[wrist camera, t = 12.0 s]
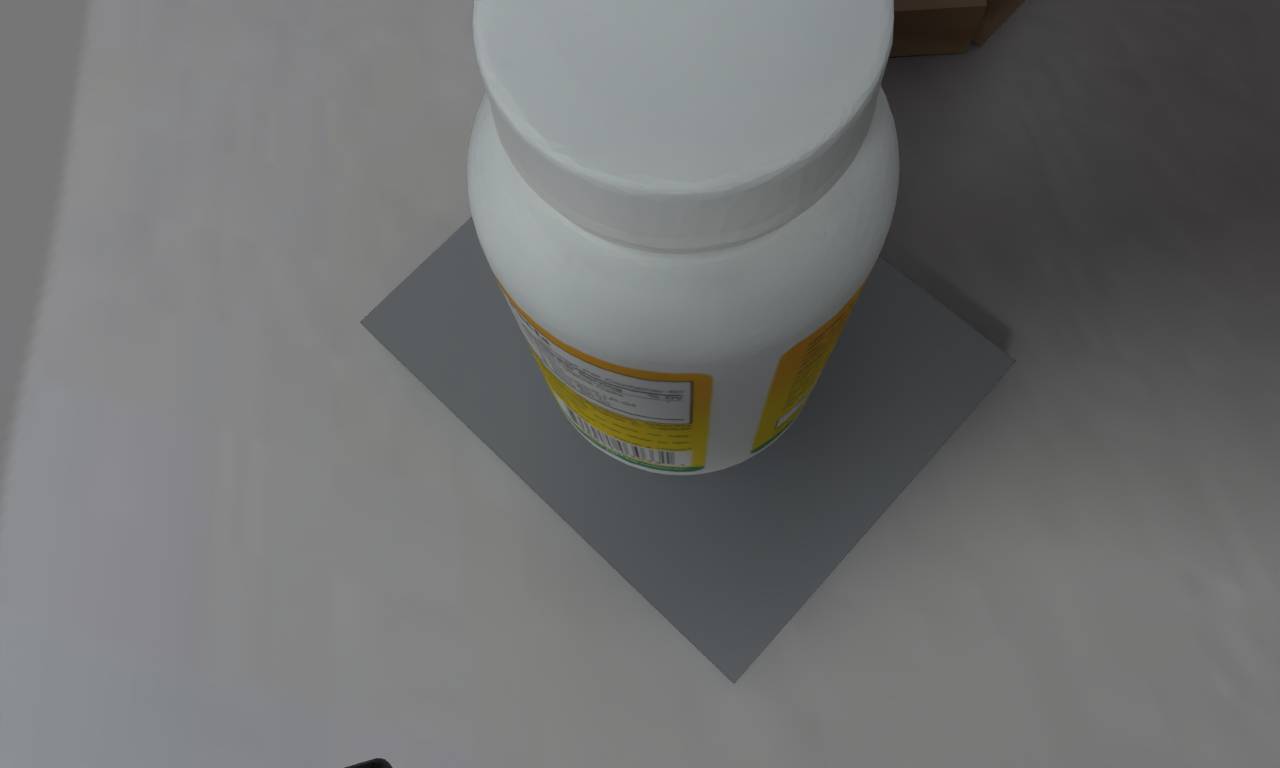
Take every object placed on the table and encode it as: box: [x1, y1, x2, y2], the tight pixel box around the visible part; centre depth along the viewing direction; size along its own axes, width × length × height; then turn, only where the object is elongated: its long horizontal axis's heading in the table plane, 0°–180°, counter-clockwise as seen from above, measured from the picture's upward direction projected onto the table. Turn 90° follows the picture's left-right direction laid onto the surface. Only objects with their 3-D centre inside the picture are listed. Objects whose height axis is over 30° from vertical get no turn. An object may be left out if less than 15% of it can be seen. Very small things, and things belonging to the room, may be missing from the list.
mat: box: [360, 217, 1016, 683], centre depth 18 cm, size 10×8×1 cm
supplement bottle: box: [467, 0, 900, 475], centre depth 13 cm, size 5×5×10 cm
